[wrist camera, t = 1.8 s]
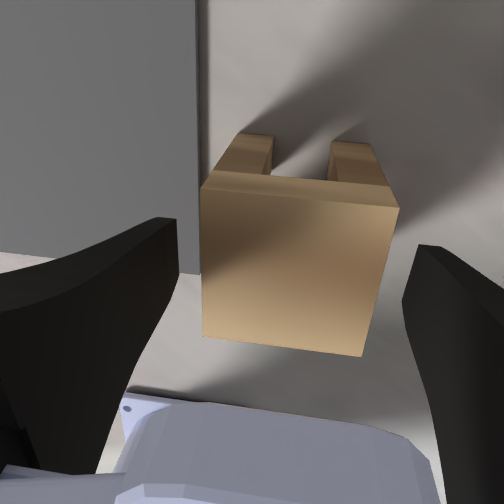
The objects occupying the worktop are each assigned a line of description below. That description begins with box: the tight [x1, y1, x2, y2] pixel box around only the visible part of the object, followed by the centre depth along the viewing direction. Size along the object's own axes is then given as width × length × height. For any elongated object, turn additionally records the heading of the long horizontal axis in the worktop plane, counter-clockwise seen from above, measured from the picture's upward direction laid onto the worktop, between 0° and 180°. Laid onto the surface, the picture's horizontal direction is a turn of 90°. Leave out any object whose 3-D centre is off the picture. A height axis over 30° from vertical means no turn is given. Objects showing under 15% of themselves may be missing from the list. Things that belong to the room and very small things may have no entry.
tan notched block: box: [200, 133, 400, 357], centre depth 14 cm, size 5×5×6 cm
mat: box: [0, 0, 201, 275], centre depth 16 cm, size 14×14×1 cm
